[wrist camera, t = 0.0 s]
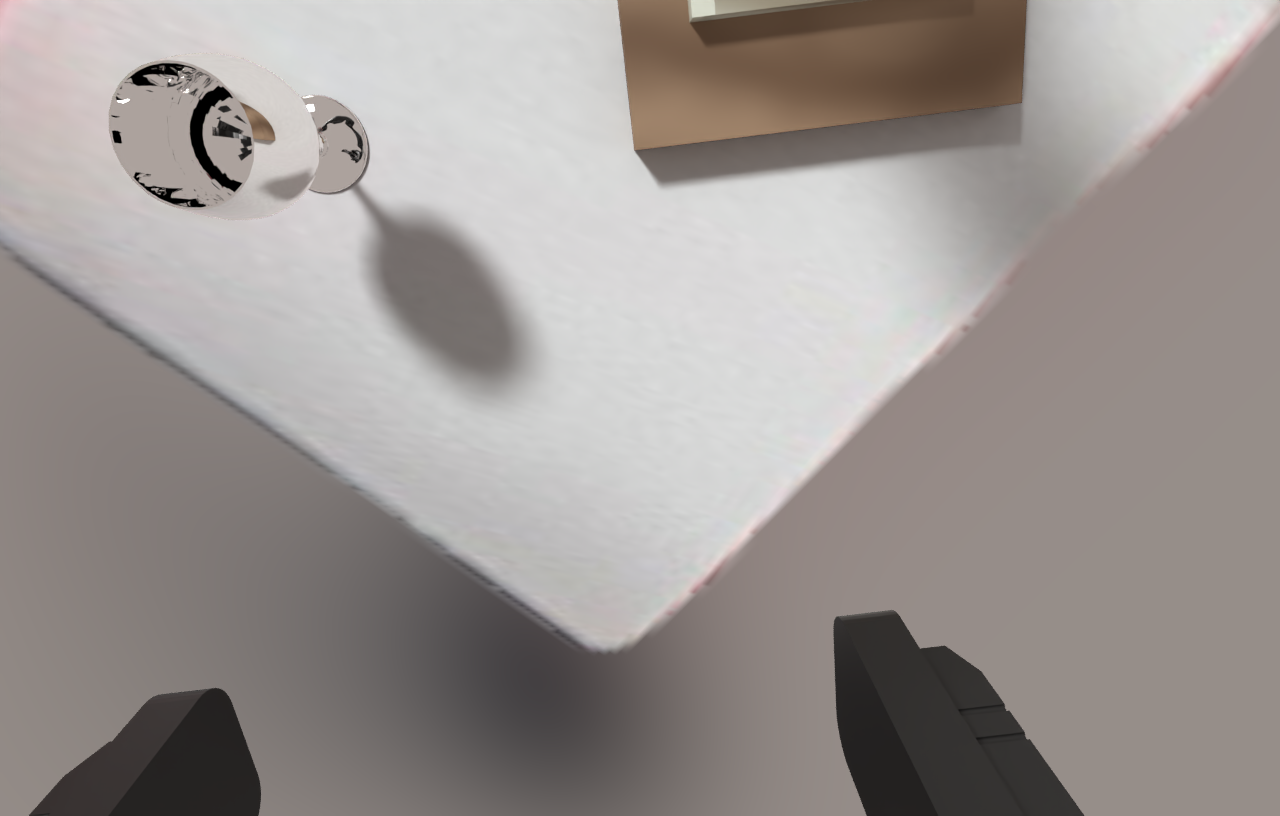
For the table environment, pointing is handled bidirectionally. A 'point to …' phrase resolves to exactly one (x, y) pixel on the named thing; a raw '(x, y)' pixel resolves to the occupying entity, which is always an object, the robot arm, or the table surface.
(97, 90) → the table surface
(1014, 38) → the base board
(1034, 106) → the table surface
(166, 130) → the wineglass
